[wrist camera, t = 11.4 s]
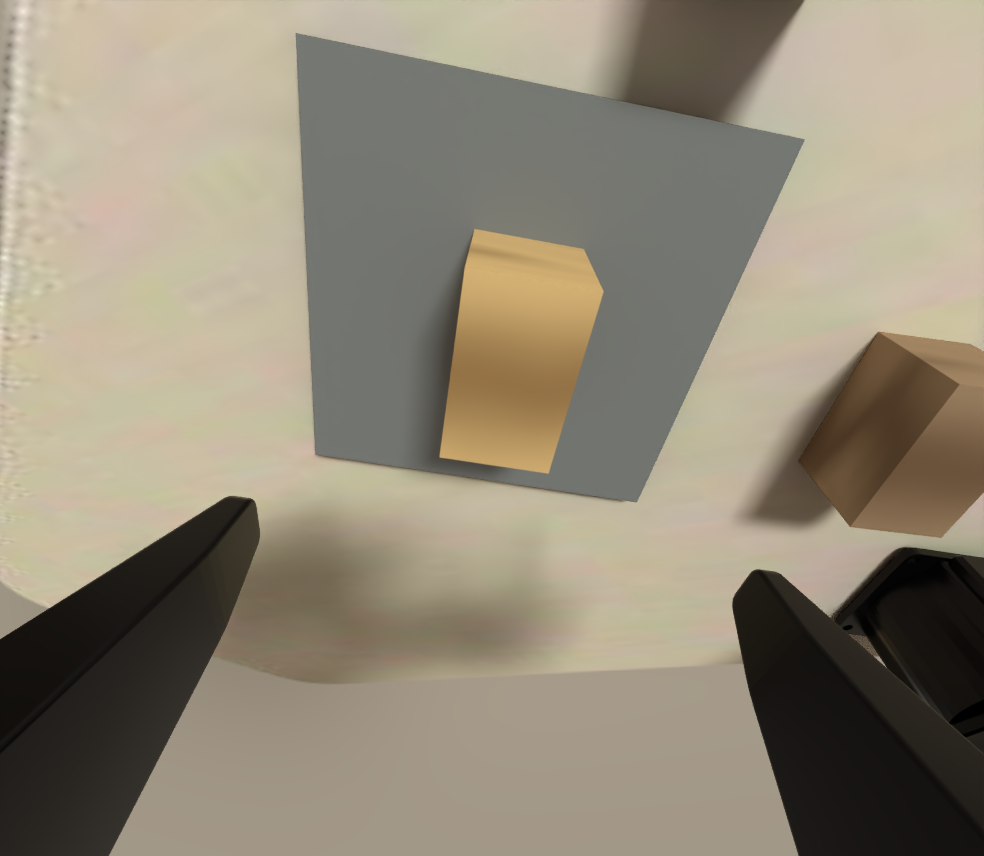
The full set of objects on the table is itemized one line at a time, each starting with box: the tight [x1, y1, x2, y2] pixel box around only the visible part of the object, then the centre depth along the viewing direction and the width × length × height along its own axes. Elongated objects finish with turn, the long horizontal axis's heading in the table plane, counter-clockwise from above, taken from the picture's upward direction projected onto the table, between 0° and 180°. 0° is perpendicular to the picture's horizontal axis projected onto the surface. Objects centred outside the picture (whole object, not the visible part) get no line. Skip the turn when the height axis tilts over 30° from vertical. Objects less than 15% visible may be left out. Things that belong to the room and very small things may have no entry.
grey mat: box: [296, 33, 805, 502], centre depth 17 cm, size 14×14×1 cm
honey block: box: [440, 229, 604, 474], centre depth 15 cm, size 6×4×4 cm, turn 171°
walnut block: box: [798, 332, 984, 538], centre depth 18 cm, size 6×4×4 cm, turn 173°
